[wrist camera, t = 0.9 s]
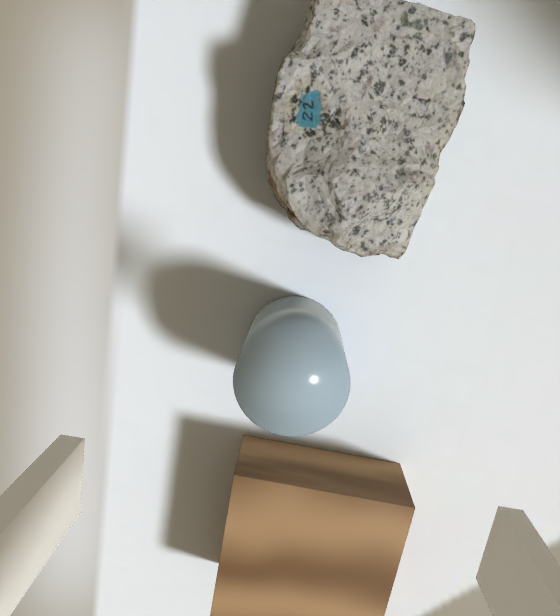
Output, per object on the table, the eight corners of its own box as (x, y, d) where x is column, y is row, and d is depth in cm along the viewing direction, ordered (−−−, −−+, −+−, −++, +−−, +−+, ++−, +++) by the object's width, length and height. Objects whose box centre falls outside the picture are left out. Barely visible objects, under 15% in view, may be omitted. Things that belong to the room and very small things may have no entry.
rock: (310, -18, 25) (315, -68, 21) (474, 43, 26) (518, 9, 21) (239, 212, 28) (230, 216, 23) (389, 263, 29) (410, 277, 24)
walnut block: (244, 432, 33) (233, 475, 28) (398, 461, 33) (415, 508, 28) (222, 560, 36) (209, 619, 31) (365, 587, 36) (374, 649, 31)
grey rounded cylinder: (255, 289, 30) (241, 318, 23) (348, 304, 30) (360, 337, 23) (243, 375, 32) (226, 426, 25) (331, 389, 32) (338, 444, 25)
